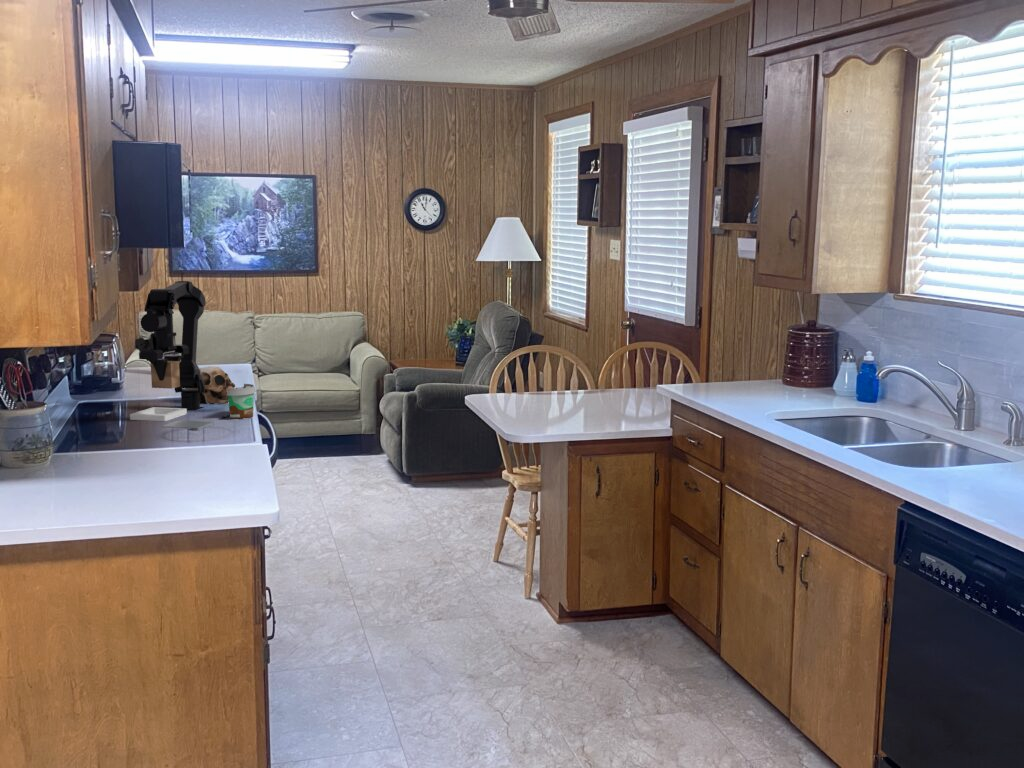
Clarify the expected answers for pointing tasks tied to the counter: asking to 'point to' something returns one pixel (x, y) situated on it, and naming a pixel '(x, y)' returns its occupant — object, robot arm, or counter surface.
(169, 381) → the walnut block
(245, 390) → the food container
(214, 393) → the brown skull
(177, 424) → the slate trivet
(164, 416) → the pocket tray
